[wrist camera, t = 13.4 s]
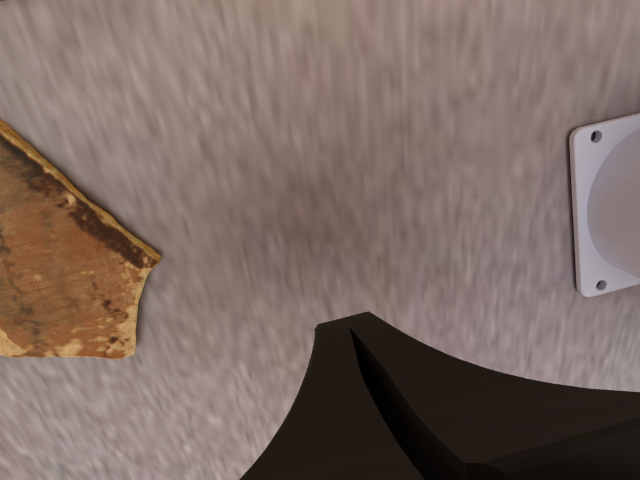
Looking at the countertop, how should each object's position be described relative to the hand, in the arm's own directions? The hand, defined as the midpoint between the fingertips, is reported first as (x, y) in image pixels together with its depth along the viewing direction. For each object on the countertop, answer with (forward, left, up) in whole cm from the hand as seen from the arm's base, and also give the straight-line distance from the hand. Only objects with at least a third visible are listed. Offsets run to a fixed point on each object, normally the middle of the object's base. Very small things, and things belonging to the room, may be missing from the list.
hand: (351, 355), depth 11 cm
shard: (+11, -2, -11) cm, 16 cm away
